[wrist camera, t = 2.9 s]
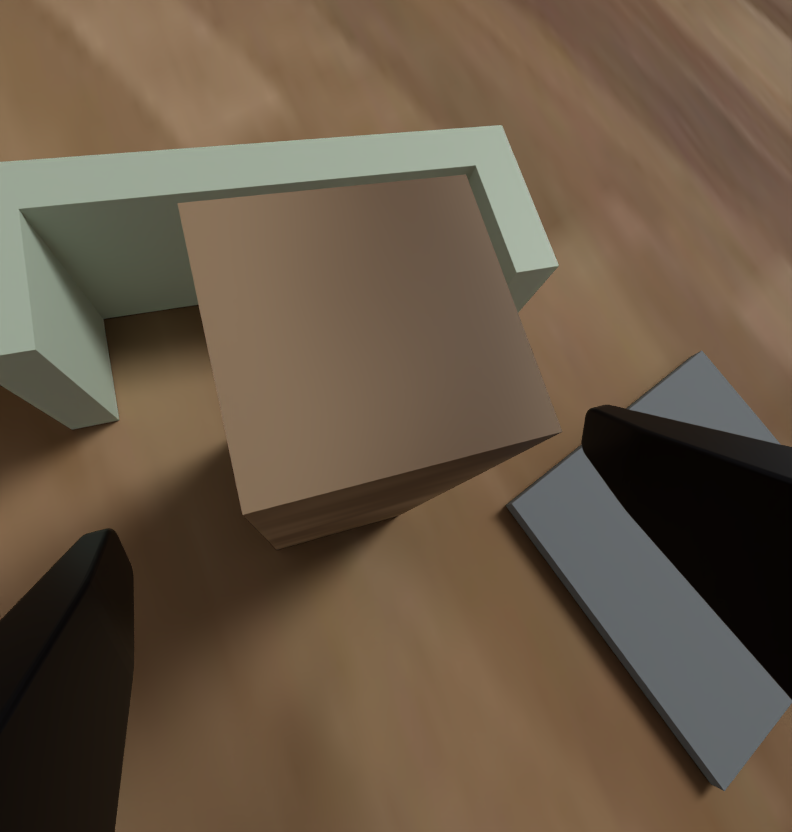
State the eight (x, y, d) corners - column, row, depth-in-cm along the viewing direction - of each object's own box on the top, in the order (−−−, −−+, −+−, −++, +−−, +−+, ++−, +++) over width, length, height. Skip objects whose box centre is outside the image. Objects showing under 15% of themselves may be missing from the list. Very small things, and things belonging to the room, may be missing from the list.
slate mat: (711, 784, 18) (724, 790, 17) (505, 505, 19) (511, 503, 19) (874, 574, 22) (889, 574, 21) (692, 355, 23) (701, 350, 23)
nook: (71, 429, 17) (-38, 361, 11) (53, 289, 18) (-54, 166, 13) (488, 346, 21) (558, 265, 16) (450, 236, 22) (501, 125, 17)
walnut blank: (277, 549, 17) (242, 514, 6) (249, 428, 18) (177, 203, 7) (398, 515, 18) (562, 431, 7) (367, 402, 19) (465, 174, 8)
